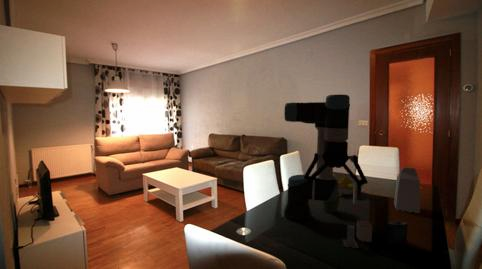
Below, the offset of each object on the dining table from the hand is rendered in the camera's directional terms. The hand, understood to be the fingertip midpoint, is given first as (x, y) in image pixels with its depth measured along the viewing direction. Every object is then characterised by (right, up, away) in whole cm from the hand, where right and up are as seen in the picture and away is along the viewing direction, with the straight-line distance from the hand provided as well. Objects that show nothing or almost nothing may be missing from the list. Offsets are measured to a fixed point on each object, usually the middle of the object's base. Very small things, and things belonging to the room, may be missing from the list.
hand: (333, 201), depth 82 cm
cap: (+26, -26, +28) cm, 46 cm away
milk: (+71, -23, +64) cm, 99 cm away
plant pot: (+22, -23, +60) cm, 68 cm away
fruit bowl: (+45, -21, +94) cm, 107 cm away
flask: (+39, -26, +26) cm, 54 cm away
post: (+17, -26, +24) cm, 39 cm away
